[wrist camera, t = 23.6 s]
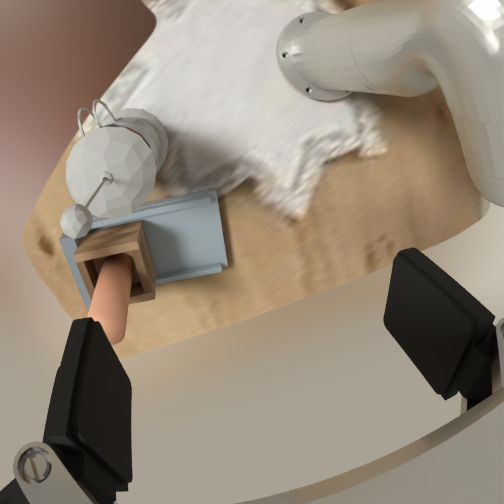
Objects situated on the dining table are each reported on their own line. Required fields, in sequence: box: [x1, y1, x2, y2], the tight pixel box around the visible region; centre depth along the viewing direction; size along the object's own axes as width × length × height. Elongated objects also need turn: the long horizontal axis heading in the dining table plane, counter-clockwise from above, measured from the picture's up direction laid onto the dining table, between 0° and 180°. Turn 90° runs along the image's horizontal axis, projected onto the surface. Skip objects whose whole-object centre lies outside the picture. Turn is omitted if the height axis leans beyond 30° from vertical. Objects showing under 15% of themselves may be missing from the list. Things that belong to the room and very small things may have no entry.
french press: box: [60, 99, 169, 239], centre depth 25 cm, size 10×12×25 cm
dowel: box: [87, 253, 134, 345], centre depth 33 cm, size 4×4×12 cm
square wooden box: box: [73, 220, 156, 304], centre depth 38 cm, size 8×8×6 cm
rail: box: [59, 189, 228, 311], centre depth 40 cm, size 20×11×6 cm, turn 96°
